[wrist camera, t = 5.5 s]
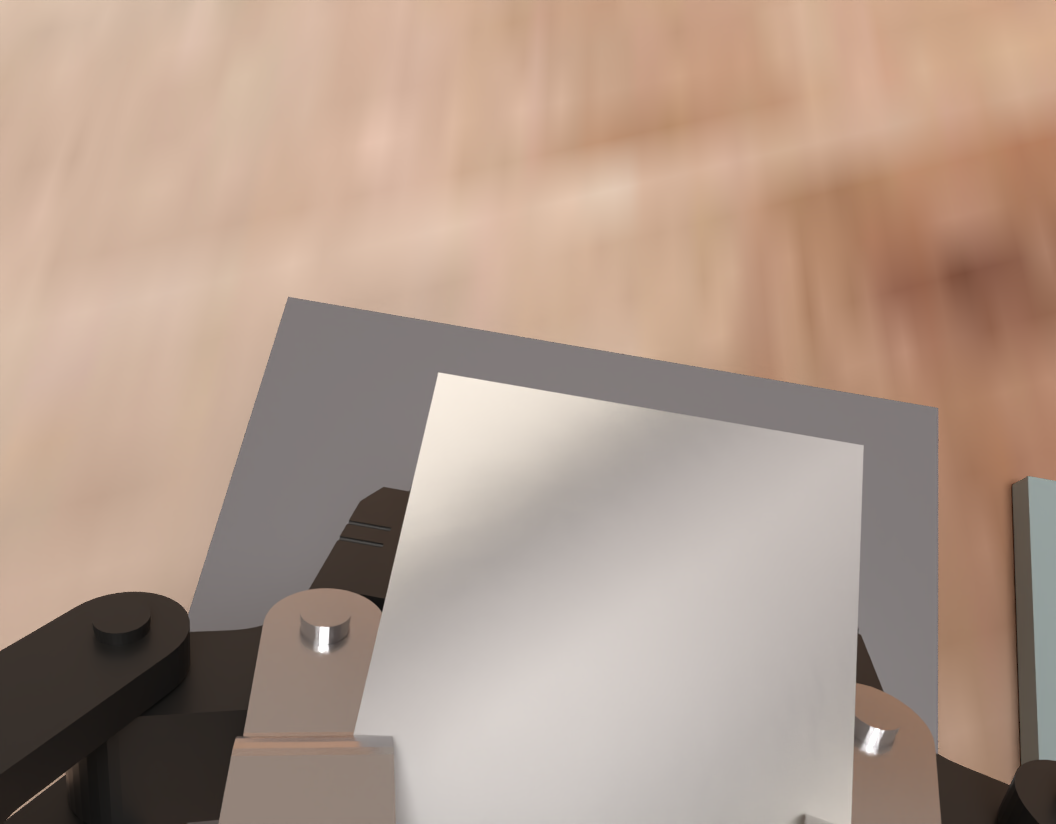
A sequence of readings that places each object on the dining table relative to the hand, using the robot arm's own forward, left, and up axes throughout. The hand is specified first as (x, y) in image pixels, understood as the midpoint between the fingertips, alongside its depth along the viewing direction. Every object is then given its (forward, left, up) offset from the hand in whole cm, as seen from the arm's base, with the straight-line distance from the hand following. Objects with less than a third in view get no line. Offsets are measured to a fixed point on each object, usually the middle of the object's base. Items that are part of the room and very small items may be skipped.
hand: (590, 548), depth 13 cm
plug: (0, +2, -5) cm, 5 cm away
